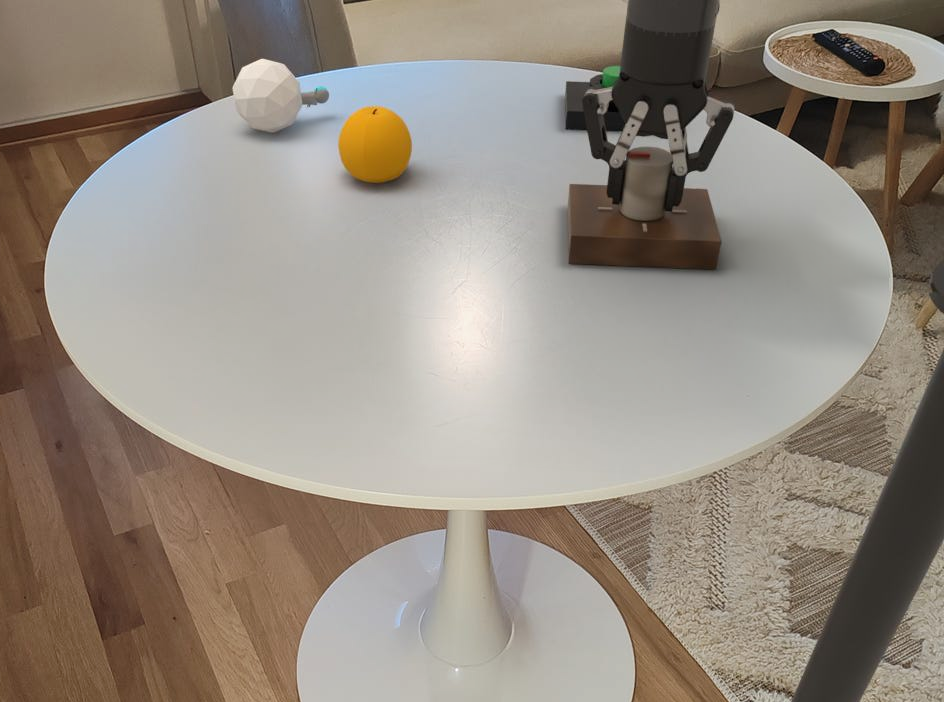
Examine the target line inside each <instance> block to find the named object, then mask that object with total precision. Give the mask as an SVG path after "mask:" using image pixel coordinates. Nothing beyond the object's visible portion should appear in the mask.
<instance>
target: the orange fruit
mask: <svg viewBox="0 0 944 702" xmlns="http://www.w3.org/2000/svg"><path fill="white" fill-rule="evenodd" d="M337 143H338V145H337V146H338V147H337V148H338V153H339V158H340V160H341V163H342V166H343V168H345V170H346V171H347V173H349V174H350V175H351V176H353V177H354V178H355V179H357V180H359V181H362V182H364V183H371V184H372V183H373V184H374V183H375V184H380V183H386V182H391V181H392V180H395V179H396V178H398V177H400V175H402V174H403V173H404V171H406V169H407V168H408V166H409V163H410V160H411V157H412V152H413V142H412V136H411V133H410V131H409V128H408V126H407V124H406V122H405V121H404V120H403V118H402V117H401V116H399V115H398V114H397V113H395V112H394V111H393V110H391V109H389V108H386V107H384V106H378V105H371V106H364V107H362V108H359V109H358V110H356V111H354V112H353V113H351V115H350V116H348V118H347V119H346V120H345V122H344V124H343V126H342V127H341V130H340V133H339V136H338V142H337Z"/></svg>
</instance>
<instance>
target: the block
mask: <svg viewBox="0 0 944 702" xmlns="http://www.w3.org/2000/svg"><path fill="white" fill-rule="evenodd" d="M602 78H603V73H601V74H596V75H594V76H593V77H591V78H590V79H589V81H569V80H568V81H566V82H565V92H564V118H565V119H564V120H565V121H564V122H565V124H564V125H565V130H583V131H584V130H585V131H587V127H586V121H585V116H584V110H583V105H582V100H583V97H584V95H585V93H586V91H587V89H588V88H589V87H591V86H595V87H597V88H598V89H603V88H608V87H605V86H603V85H602ZM603 116H604V122H605V128H606V131H613V132H615V131H616V132H622V131H623V128H624V126H625V124H626V123H625V121H624V119H623V117H622V116H621V114H620V112H619V110H618V108H617V107H616V105H615V103H614V101H613V100H611V101H610V102H609V106H608V109H607V111H606V113H605V114H603Z"/></svg>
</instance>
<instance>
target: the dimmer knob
mask: <svg viewBox="0 0 944 702" xmlns="http://www.w3.org/2000/svg"><path fill="white" fill-rule="evenodd" d="M625 160H626V162H625V170H624V177H623V185H622V193H621V201H620V212H621V213H622V214H623V215H624V216H626V217H628V218H631V219H634V220H640V221H651V220H656V219H659V218H661V217H662V216H663V215H664V214H665V206H666V200H667V194H668V188H669V182H670V176H671V172H672V168H673V160H672V154H671V152H670V151H668V150H666V149H664V148H661V147H656V146H637V147H634V148H630V149H629V151H628V153H627V155H626V157H625Z"/></svg>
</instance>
